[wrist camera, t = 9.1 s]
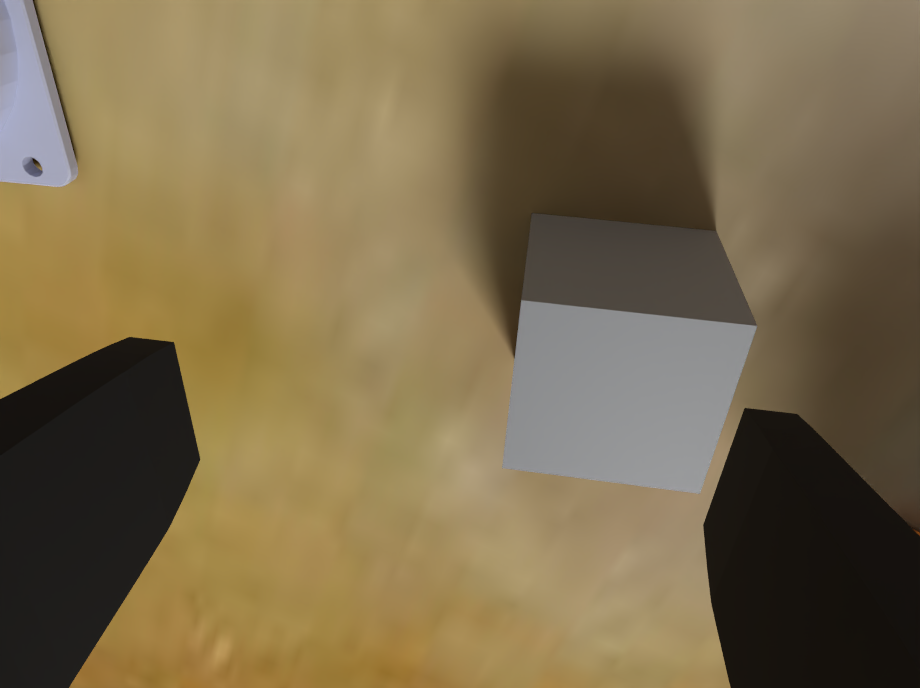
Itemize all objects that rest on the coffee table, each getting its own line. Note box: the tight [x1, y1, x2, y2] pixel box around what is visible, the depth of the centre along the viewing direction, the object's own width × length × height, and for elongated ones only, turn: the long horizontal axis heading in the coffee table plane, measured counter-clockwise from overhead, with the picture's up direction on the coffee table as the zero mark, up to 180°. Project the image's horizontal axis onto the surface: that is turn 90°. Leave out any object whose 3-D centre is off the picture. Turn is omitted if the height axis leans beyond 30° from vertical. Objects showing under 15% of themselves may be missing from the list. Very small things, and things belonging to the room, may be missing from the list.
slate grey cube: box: [502, 213, 757, 494], centre depth 16 cm, size 4×4×4 cm
